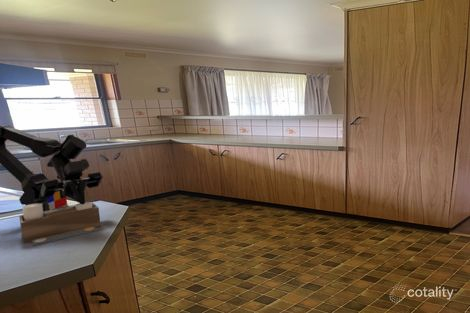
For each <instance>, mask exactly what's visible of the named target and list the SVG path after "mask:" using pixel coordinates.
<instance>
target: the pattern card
mask: <svg viewBox="0 0 470 313" xmlns="http://www.w3.org/2000/svg"><path fill="white" fill-rule="evenodd" d="M97 231H98V228H97V226H96V227H95V226H91V227H87V228H83V229H78V230H74V231H70V232H65V233H61V234H56V235H52V236H48V237H43V238H39V239H35V240H32V241H31V243H32V247H35V246H38V245H42V244H47V243H52V242H54V241H59V240H64V239H67V238H68V239H69V238H72V237H77V236H81V235H84V234H89V233H93V232H97Z"/></svg>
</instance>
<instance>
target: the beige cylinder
mask: <svg viewBox="0 0 470 313" xmlns="http://www.w3.org/2000/svg"><path fill="white" fill-rule="evenodd" d="M92 203H93V202H92V201H91V202H89V201H85V204H80V203H79V202H78V203H77V204H75V205H74V206H75V208H76V211H78V210H83V209H88V208H93V207H92Z"/></svg>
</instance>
